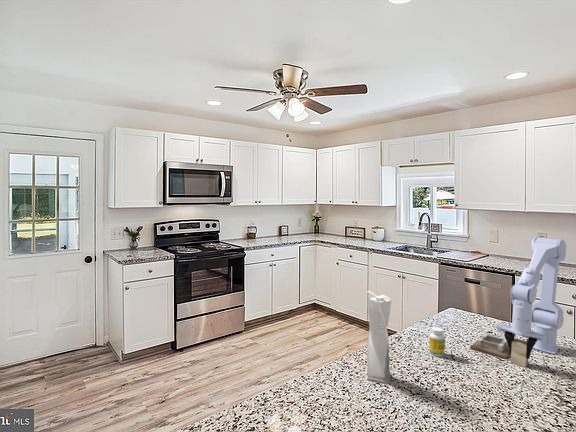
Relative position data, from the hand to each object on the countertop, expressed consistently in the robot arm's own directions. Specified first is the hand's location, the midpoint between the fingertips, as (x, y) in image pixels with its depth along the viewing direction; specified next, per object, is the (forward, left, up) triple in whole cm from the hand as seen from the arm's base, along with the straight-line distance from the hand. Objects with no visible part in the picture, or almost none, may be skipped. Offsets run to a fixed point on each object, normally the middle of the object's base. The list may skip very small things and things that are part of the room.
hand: (519, 355), depth 128 cm
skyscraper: (+45, -31, -3) cm, 55 cm away
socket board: (-7, -10, -3) cm, 13 cm away
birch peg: (0, 0, -3) cm, 3 cm away
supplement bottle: (+14, -24, -3) cm, 28 cm away
